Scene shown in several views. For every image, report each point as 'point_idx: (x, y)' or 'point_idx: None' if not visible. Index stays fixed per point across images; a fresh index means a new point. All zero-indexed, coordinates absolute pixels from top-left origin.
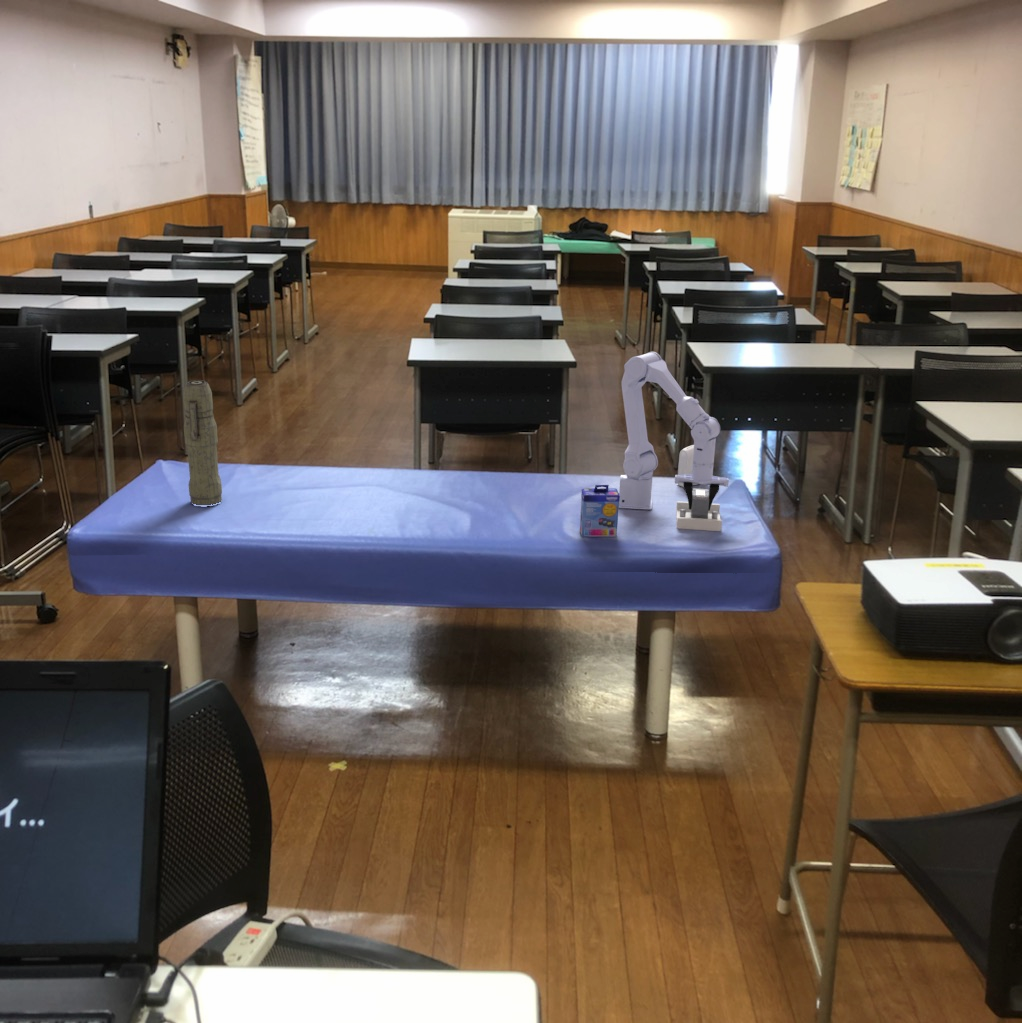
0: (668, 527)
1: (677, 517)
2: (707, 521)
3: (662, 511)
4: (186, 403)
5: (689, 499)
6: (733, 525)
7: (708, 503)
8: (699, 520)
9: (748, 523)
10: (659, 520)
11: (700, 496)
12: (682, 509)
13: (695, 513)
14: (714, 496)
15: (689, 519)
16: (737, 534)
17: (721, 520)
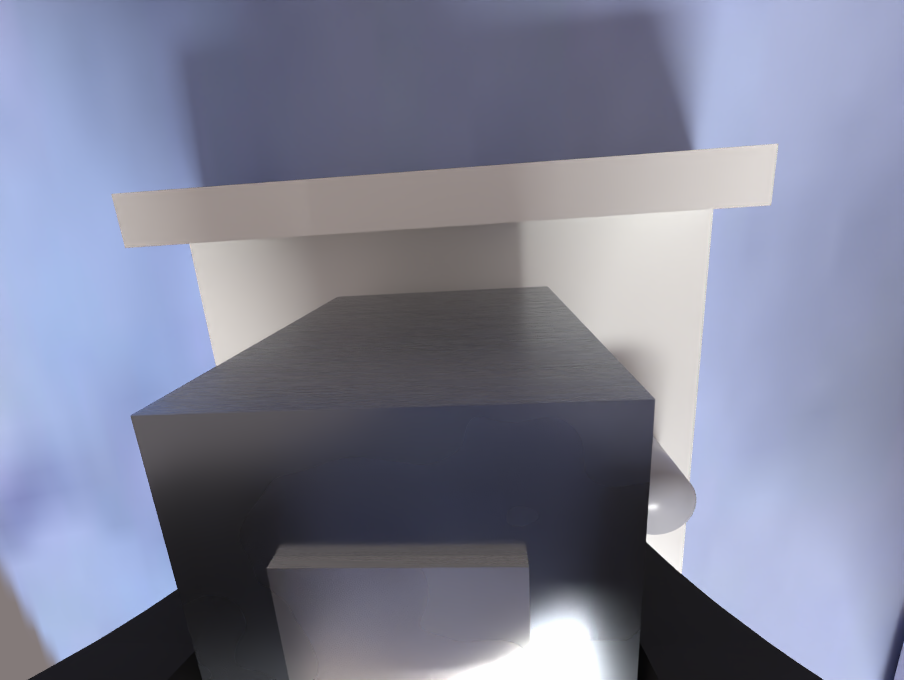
0: (791, 174)
1: (773, 176)
2: (318, 181)
3: (793, 608)
4: None
5: (657, 579)
6: (125, 399)
7: (212, 371)
8: (430, 171)
9: (17, 475)
10: (865, 374)
11: (408, 599)
12: (664, 513)
13: (497, 303)
14: (55, 666)
15: (580, 160)
16: (30, 150)
17: (124, 217)
